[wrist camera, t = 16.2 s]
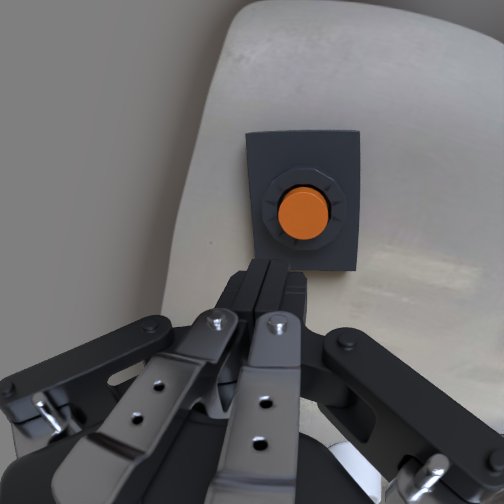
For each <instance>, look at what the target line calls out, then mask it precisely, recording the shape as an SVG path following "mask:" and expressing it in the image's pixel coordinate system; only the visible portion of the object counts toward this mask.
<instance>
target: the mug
mask: <svg viewBox="0 0 504 504" xmlns="http://www.w3.org/2000/svg"><path fill="white" fill-rule="evenodd" d="M328 449H329V450H330V451H331V452H332V453H333V455H334V456H335V457H336V458H337V459H338V461H339V462H340V463H341V464H342V465H343V467H344V468H345V469H346V470H347V471H348V473H349V474H350V475H351V476H352V477H353V479H354V480H355V481H356V482H357V483H358V484H359V486H360V487H361V488H362V489H363V490H364V491H365V492H366V494H367V495H368V496H369V497H370V498H371V499H372V500H373V502H374V503H375V504H378V503H380V501H381V474H380V473H379V472H378V471H377V470H376V469H375V468H374V467H373V466H372V465H371V464H370V463H369V462H368V461H367V460H366V459H365V458H364V457H363V456H362V455H361V454H360V452H359V451H358V450H357V449H356V448H355V447H354V446H353V445H352V444H351V443H350V442H349V441H346V442H341V443H338V444H335V445H333V446H331V447H329V448H328Z"/></svg>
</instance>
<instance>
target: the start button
mask: <svg viewBox="0 0 504 504" xmlns="http://www.w3.org/2000/svg"><path fill="white" fill-rule="evenodd" d="M278 218H279V222H280V225H281V227H282V228H283V230H284V231H285V232H286V233H287V234H288V235H290V236H292V237H294V238H297V239H303V240H305V239H311V238H314V237H316V236H318V235H319V234H320V233H321V232H322V231H323V230H324V229H325V227H326V225H327V221H328V208H327V203H326V201H325V199H324V197H323V196H322V195H321V194H320V193H319V192H318V191H316V190H314V189H312V188H308V187H299V188H296V189H293V190H291V191H290V192H289V193H288V194H287V195H286V196H285V197H284V199H283V201H282V203H281V205H280V208H279V212H278Z"/></svg>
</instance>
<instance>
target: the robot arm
mask: <svg viewBox="0 0 504 504" xmlns="http://www.w3.org/2000/svg"><path fill="white" fill-rule="evenodd" d="M306 313H307V278H306V277H305V275H304V274H303V272H291V265H290V260H275V259H272V260H270V259H252V261H251V263H250V265H249V267H248V269H247V271H238V272H237V273H235V274H234V275H233V276H231V277H230V279H229V281H228V283H227V286H226V287H225V289H224V292H222V294H221V296H220V298H219V300H218V302H217V304H216V306H215V308H213V309H209V310H207V311H204V312H203V313H201V314H200V315H199V316H198V317H197V318H196V320H195V321H194V322H193V324H192V325H191V326H183V327H174V328H172V324H171V321H170V320H169V319H168V318H167V317H165V316H161V315H152V316H148V317H144V318H142V319H140V320H137V321H135V322H133V323H131V324H128V325H126V326H124V327H122V328H119V329H117V330H115V331H113V332H110V333H108V334H106V335H103V336H101V337H99V338H97V339H94V340H92V341H90V342H88V343H85V344H83V345H81V346H78V347H76V348H74V349H71V350H69V351H67V352H64V353H62V354H60V355H57V356H55V357H53V358H50V359H48V360H46V361H43V362H41V363H39V364H36V365H34V366H32V367H29V368H27V369H24V370H22V371H20V372H17V373H15V374H13V375H10V376H8V377H6V378H4V379H2V380H1V381H0V409H1V410H2V412H3V413H4V414H5V415H6V417H7V419H8V420H9V421H10V423H11V427H12V433H13V440H14V446H15V450H16V456H17V459H16V460H15V461H13V462H12V463H11V464H10V465H9V466H8V467H7V469H6V470H5V472H4V473H3V476H2V478H1V482H0V504H375V503H374V502H373V500H372V499H371V498H370V497H369V496H368V495H367V494H366V492H365V491H364V490H363V489H362V488H361V487H360V486H359V484H358V483H357V482H356V481H355V480H354V479H353V477H352V476H351V475H350V474H349V473H348V471H347V470H346V469H345V468H344V467H343V465H342V464H341V463H340V462H339V461H338V459H337V458H336V457H335V456H334V455H333V453H332V452H331V451H330V450H329V449H328V448H327V447H325V446H324V445H323V444H322V443H320V442H319V441H317V440H316V439H314V438H312V437H310V436H308V435H306V434H303V433H301V432H299V414H300V397H302V398H305V399H308V400H311V401H314V402H317V405H318V408H319V410H320V411H321V412H322V413H323V414H324V415H325V416H326V417H327V419H328V420H329V421H330V422H331V423H332V424H333V425H334V426H335V427H336V428H337V429H338V430H339V431H340V433H341V434H342V435H343V436H344V437H345V438H346V439H347V440H348V441H349V442H350V443H351V444H352V445H353V446H354V447H355V448H356V449H357V450H358V451H359V452H360V454H361V455H362V456H363V457H364V458H365V459H366V460H367V461H368V462H369V463H370V464H371V465H372V466H373V467H374V468H375V469H376V470H377V471H378V472H379V473H380V474H381V475H382V476H383V477H384V478H385V479H386V480H387V481H388V482H389V483H390V484H389V485H388V487H387V489H386V493H385V502H386V504H483V503H485V502H486V501H487V500H489V499H490V498H491V497H493V496H494V495H495V494H497V493H498V492H499V491H500V490H502V489H503V488H504V437H502V436H501V435H500V434H498V433H497V432H496V431H494V430H493V429H492V428H490V427H489V426H488V425H487V424H485V423H484V422H483V421H481V420H480V419H479V418H477V417H476V416H475V415H473V414H472V413H471V412H469V411H468V410H467V409H465V408H464V407H463V406H461V405H460V404H459V403H457V402H456V401H455V400H453V399H452V398H451V397H449V396H448V395H447V394H445V393H444V392H443V391H441V390H440V389H439V388H437V387H436V386H435V385H433V384H432V383H431V382H429V381H428V380H427V379H425V378H424V377H423V376H421V375H420V374H419V373H417V372H416V371H415V370H413V369H412V368H411V367H409V366H408V365H407V364H405V363H404V362H403V361H401V360H400V359H399V358H397V357H396V356H395V355H393V354H392V353H391V352H389V351H388V350H387V349H385V348H384V347H383V346H381V345H380V344H379V343H377V342H376V341H375V340H373V339H372V338H371V337H369V336H368V335H367V334H365V333H364V332H362V331H360V330H358V329H355V328H348V327H343V328H337V329H334V330H332V331H330V332H329V333H327V334H326V336H323V335H320V334H316V333H314V332H312V331H311V330H309V329H308V328H307V327H306V326H305V323H306ZM141 361H142V362H143V364H144V367H145V368H144V369H143V370H142V372H141V373H140V374H139V375H137V376H135V377H133V378H131V379H129V380H127V381H125V382H123V383H121V384H119V385H116V386H111V385H109V384H108V383H107V381H108V379H109V377H110V376H112V375H113V374H115V373H117V372H119V371H121V370H124V369H126V368H128V367H130V366H132V365H134V364H136V363H139V362H141Z"/></svg>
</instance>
